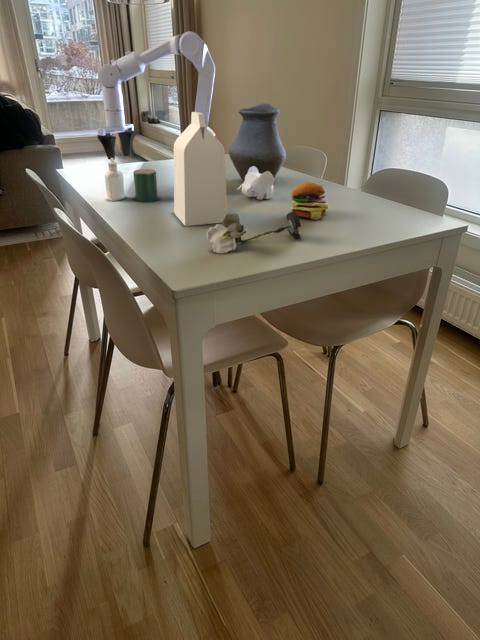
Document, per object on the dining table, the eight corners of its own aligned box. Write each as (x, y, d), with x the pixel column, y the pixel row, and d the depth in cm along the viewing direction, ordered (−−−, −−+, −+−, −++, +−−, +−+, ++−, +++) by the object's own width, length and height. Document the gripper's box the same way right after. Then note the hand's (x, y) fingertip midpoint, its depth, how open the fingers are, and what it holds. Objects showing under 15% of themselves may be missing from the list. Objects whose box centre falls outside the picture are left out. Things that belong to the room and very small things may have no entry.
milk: (174, 213, 126) (168, 111, 113) (213, 210, 130) (212, 110, 117) (185, 226, 116) (180, 115, 104) (227, 222, 120) (227, 114, 107)
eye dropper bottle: (127, 199, 138) (123, 158, 132) (108, 201, 136) (103, 159, 130) (123, 196, 141) (119, 156, 135) (105, 198, 139) (100, 157, 133)
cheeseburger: (299, 221, 121) (298, 182, 118) (285, 219, 131) (283, 183, 128) (333, 218, 123) (333, 180, 121) (317, 217, 133) (316, 181, 131)
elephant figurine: (232, 196, 144) (233, 167, 139) (265, 192, 149) (266, 164, 144) (247, 203, 136) (248, 173, 132) (281, 199, 142) (282, 170, 137)
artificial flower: (306, 248, 107) (310, 212, 100) (214, 269, 102) (212, 232, 95) (291, 228, 113) (294, 192, 106) (204, 246, 108) (201, 210, 101)
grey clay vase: (219, 184, 158) (219, 105, 146) (239, 172, 176) (240, 101, 164) (277, 189, 153) (281, 108, 141) (291, 176, 171) (296, 103, 159)
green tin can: (161, 198, 140) (160, 170, 136) (149, 202, 135) (147, 174, 131) (144, 195, 143) (142, 168, 139) (131, 200, 138) (128, 171, 134)
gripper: (119, 108, 143) (123, 153, 150) (86, 111, 132) (93, 159, 139) (137, 109, 141) (141, 155, 147) (106, 112, 129) (111, 162, 136)
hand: (119, 157), depth 143 cm, fingers open, 7 cm apart
